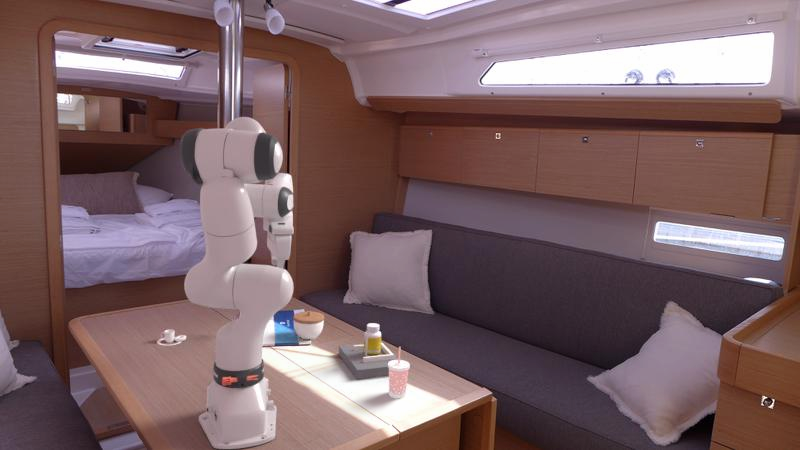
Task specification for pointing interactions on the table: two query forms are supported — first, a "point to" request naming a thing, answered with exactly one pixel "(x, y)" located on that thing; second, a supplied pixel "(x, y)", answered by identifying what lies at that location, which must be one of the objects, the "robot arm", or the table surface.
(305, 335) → the lidded jar
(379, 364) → the dock
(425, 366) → the table surface
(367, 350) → the supplement bottle
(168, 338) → the white cup and donut
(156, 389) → the table surface
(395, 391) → the beverage cup
